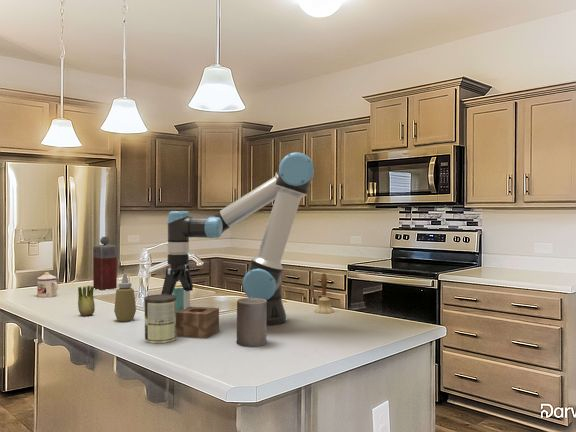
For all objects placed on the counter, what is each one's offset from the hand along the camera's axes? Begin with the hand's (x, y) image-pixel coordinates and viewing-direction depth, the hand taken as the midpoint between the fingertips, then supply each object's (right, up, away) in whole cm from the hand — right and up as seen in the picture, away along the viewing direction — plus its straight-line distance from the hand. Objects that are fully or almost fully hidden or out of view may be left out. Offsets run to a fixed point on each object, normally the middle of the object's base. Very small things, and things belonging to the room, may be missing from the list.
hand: (177, 311), depth 188 cm
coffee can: (-2, -6, -18) cm, 19 cm away
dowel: (0, -6, 0) cm, 6 cm away
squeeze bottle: (-23, -6, +11) cm, 26 cm away
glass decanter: (-59, -4, +91) cm, 109 cm away
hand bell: (+55, -5, +29) cm, 63 cm away
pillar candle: (+29, -6, -22) cm, 37 cm away
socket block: (+9, -6, -10) cm, 14 cm away
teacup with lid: (-77, -5, +66) cm, 102 cm away
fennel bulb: (-41, -5, +20) cm, 46 cm away
